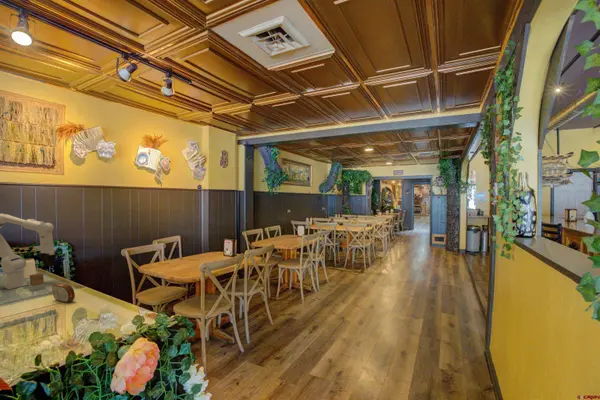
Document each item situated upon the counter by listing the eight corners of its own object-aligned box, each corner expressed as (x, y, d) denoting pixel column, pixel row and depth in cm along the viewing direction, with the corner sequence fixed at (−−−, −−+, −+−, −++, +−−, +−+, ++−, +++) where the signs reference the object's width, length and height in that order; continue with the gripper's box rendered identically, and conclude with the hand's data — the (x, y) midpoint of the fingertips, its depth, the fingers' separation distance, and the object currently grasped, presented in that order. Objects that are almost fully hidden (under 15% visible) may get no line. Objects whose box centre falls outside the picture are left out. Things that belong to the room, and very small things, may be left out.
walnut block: (30, 284, 156) (29, 275, 156) (41, 282, 160) (40, 272, 160) (33, 286, 154) (32, 276, 153) (43, 283, 158) (42, 273, 157)
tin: (76, 301, 134) (74, 284, 134) (68, 304, 131) (66, 286, 131) (59, 298, 141) (57, 281, 140) (51, 300, 138) (50, 283, 137)
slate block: (30, 289, 157) (30, 284, 156) (42, 287, 160) (42, 282, 160) (32, 291, 153) (32, 286, 153) (44, 288, 157) (44, 283, 157)
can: (39, 275, 185) (37, 257, 184) (28, 279, 178) (26, 260, 178) (30, 276, 185) (28, 258, 185) (19, 279, 179) (17, 260, 178)
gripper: (59, 242, 165) (62, 265, 166) (50, 241, 173) (52, 262, 174) (44, 245, 160) (46, 268, 160) (35, 243, 167) (38, 265, 168)
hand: (48, 265), depth 167 cm, fingers open, 7 cm apart
